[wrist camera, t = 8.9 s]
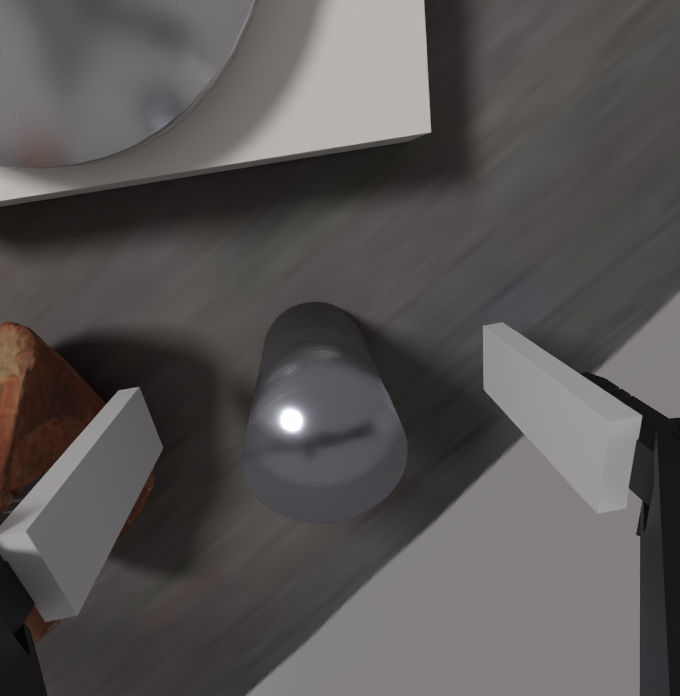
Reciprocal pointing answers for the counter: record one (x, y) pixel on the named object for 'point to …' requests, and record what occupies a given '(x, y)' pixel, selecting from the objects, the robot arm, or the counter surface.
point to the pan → (107, 73)
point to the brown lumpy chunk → (41, 422)
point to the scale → (280, 99)
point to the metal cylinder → (321, 420)
